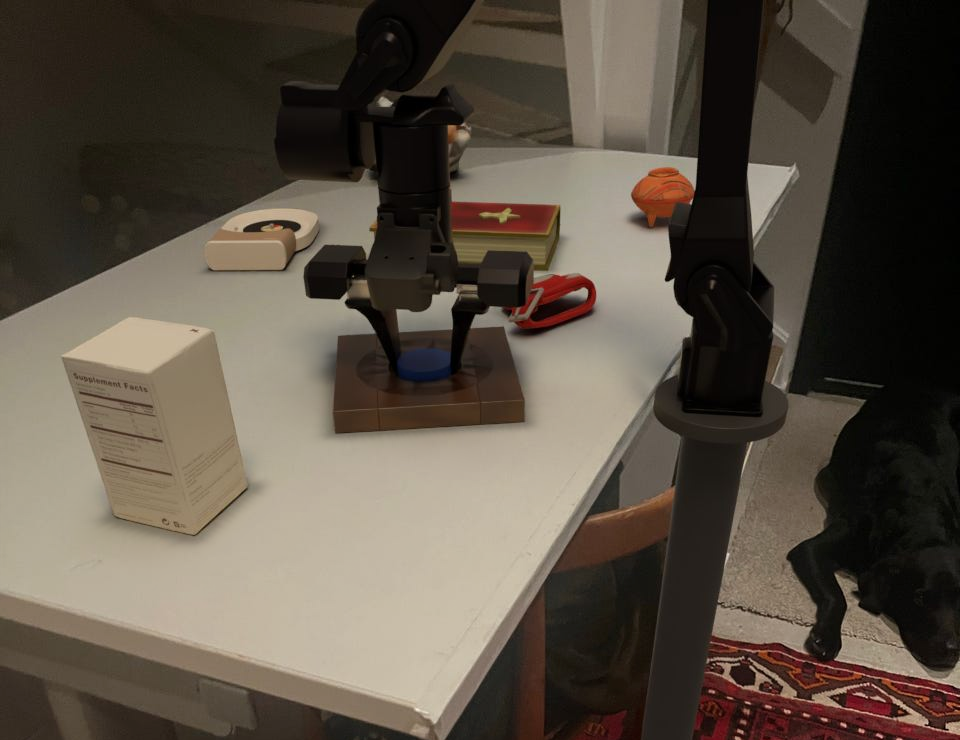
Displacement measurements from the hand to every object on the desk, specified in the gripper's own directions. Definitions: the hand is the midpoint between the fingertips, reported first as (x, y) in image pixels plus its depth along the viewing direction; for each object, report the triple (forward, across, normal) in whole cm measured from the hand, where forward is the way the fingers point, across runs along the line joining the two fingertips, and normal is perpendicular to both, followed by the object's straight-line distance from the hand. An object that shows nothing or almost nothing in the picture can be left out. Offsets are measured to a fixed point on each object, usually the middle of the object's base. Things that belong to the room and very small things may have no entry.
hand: (425, 371), depth 83 cm
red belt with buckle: (+2, +8, +18) cm, 20 cm away
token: (+1, 0, 0) cm, 1 cm away
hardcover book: (+2, -3, +38) cm, 38 cm away
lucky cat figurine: (+2, -16, +70) cm, 72 cm away
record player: (+2, -29, +38) cm, 47 cm away
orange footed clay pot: (+5, +6, +43) cm, 44 cm away
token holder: (+1, 0, 0) cm, 1 cm away
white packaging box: (+2, -14, -22) cm, 26 cm away
